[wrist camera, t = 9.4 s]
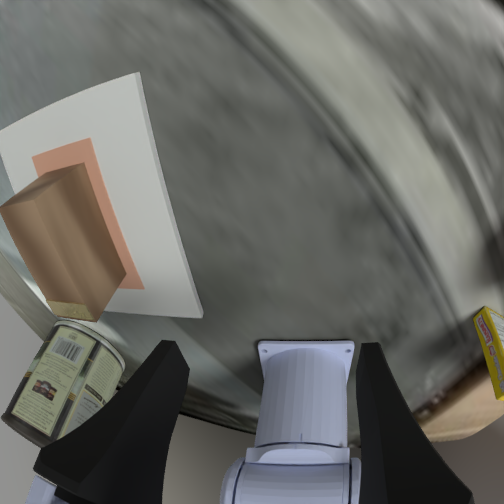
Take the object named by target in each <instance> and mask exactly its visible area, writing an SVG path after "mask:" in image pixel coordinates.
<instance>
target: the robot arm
mask: <svg viewBox="0 0 504 504" xmlns="http://www.w3.org/2000/svg"><path fill="white" fill-rule="evenodd" d="M258 351H259V356H260V361H261V366H262V371H263V377H264V386H263V393H262V400H261V406H260V413H259V420H258V426H257V432H256V439H255V445H254V448H247V452H246V458H243V457H241V458H239V459H237V460H236V461H235V462H234V463H233V464H232V465H231V466H230V467H229V468H228V470H227V472H226V474H225V477H224V480H223V483H222V488H221V494H220V504H475V503H474V499H473V494H472V492H471V490H470V489H469V488H468V487H467V486H465V484H464V483H463V482H462V481H461V480H460V479H459V478H458V477H457V476H456V475H455V473H454V472H453V471H452V470H451V469H450V468H449V466H448V465H447V464H446V463H445V461H444V460H443V459H442V457H441V456H440V455H439V453H438V452H437V451H436V450H435V448H434V447H433V446H432V444H431V443H430V441H429V440H428V438H427V437H426V435H425V434H424V432H423V431H422V429H421V427H420V426H419V424H418V423H417V421H416V419H415V418H414V416H413V414H412V412H411V411H410V409H409V407H408V405H407V403H406V401H405V399H404V398H403V396H402V394H401V392H400V390H399V388H398V386H397V383H396V381H395V379H394V377H393V375H392V373H391V370H390V368H389V366H388V364H387V361H386V359H385V356H384V354H383V351H382V348H381V345H380V344H379V343H378V342H375V343H362V345H361V350H360V355H359V360H358V365H357V370H356V399H357V408H358V417H359V427H360V438H361V455H362V459H361V461H360V460H359V458H351V459H350V464H349V448H347V394H346V384H347V379H348V375H349V370H350V366H351V361H352V356H353V352H354V342H353V341H260V342H259V343H258ZM189 371H190V368H189V367H188V365H187V363H186V361H185V359H184V357H183V355H182V353H181V351H180V349H179V348H178V346H177V344H176V342H175V341H169V340H162V341H161V342H160V343H159V344H158V345H157V346H156V348H155V349H154V350H153V351H152V352H151V354H150V355H149V356H148V357H147V359H146V360H145V361H144V362H143V364H142V365H141V366H140V367H139V368H138V370H137V371H136V372H135V373H134V374H133V375H132V377H131V378H130V379H129V380H128V381H127V382H126V383H125V385H124V386H123V387H122V388H121V389H120V390H119V391H118V392H117V393H116V394H115V396H113V397H112V398H111V399H110V400H109V401H108V402H107V403H106V404H105V405H104V406H103V407H102V408H101V409H100V410H99V411H98V412H96V413H95V414H94V415H93V416H92V417H90V418H89V419H88V420H87V421H85V422H84V423H83V424H81V425H80V426H79V427H77V428H76V429H74V430H73V431H71V432H70V433H68V434H67V435H65V436H63V437H62V438H60V439H58V440H56V441H54V442H53V443H51V444H49V445H47V446H45V447H43V448H41V450H40V453H39V455H38V457H37V460H36V462H35V465H34V467H33V469H34V471H35V472H36V473H38V474H39V475H41V476H43V477H44V478H46V479H48V480H49V481H51V482H53V483H54V484H56V485H57V486H56V485H54V484H52V483H50V482H48V481H46V480H45V479H43V478H41V477H39V476H37V475H35V477H34V480H33V483H32V485H31V488H30V491H29V494H28V496H27V499H26V502H25V504H162V491H163V481H164V473H165V467H166V460H167V455H168V449H169V444H170V440H171V436H172V433H173V430H174V427H175V423H176V420H177V417H178V414H179V411H180V408H181V405H182V402H183V399H184V396H185V392H186V388H187V383H188V377H189Z"/></svg>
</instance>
